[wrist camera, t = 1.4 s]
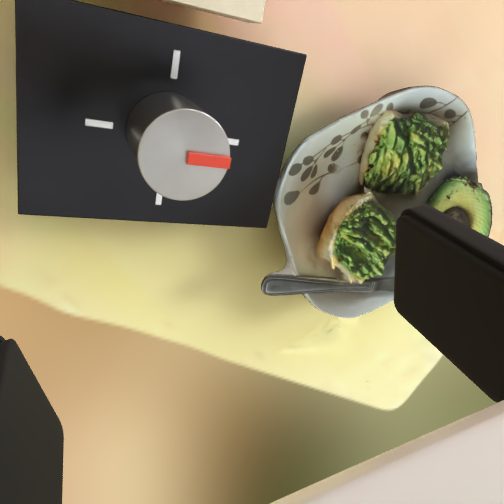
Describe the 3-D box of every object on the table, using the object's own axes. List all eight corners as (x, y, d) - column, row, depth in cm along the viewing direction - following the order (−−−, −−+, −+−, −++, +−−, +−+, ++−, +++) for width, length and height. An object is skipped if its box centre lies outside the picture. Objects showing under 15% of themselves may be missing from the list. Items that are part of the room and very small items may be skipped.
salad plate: (282, 354, 38) (304, 390, 34) (210, 161, 29) (228, 179, 25) (471, 262, 41) (512, 285, 37) (456, 60, 32) (507, 62, 28)
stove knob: (122, 166, 25) (134, 199, 21) (130, 84, 23) (143, 102, 19) (198, 174, 27) (223, 206, 22) (210, 98, 25) (240, 117, 21)
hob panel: (22, 198, 26) (17, 215, 24) (20, -12, 22) (14, -14, 20) (254, 214, 32) (267, 229, 30) (289, 51, 28) (308, 54, 26)
